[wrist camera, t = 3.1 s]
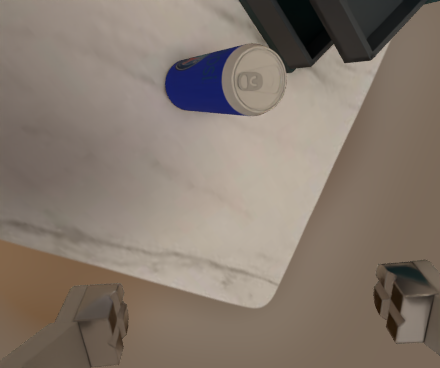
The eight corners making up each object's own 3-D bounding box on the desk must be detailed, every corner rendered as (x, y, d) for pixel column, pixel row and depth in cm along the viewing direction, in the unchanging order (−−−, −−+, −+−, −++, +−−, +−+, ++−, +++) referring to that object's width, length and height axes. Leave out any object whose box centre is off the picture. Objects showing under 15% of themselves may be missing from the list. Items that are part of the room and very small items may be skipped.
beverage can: (208, 58, 42) (289, 41, 28) (211, 108, 43) (291, 113, 30) (161, 60, 39) (225, 42, 26) (166, 112, 41) (229, 119, 27)
